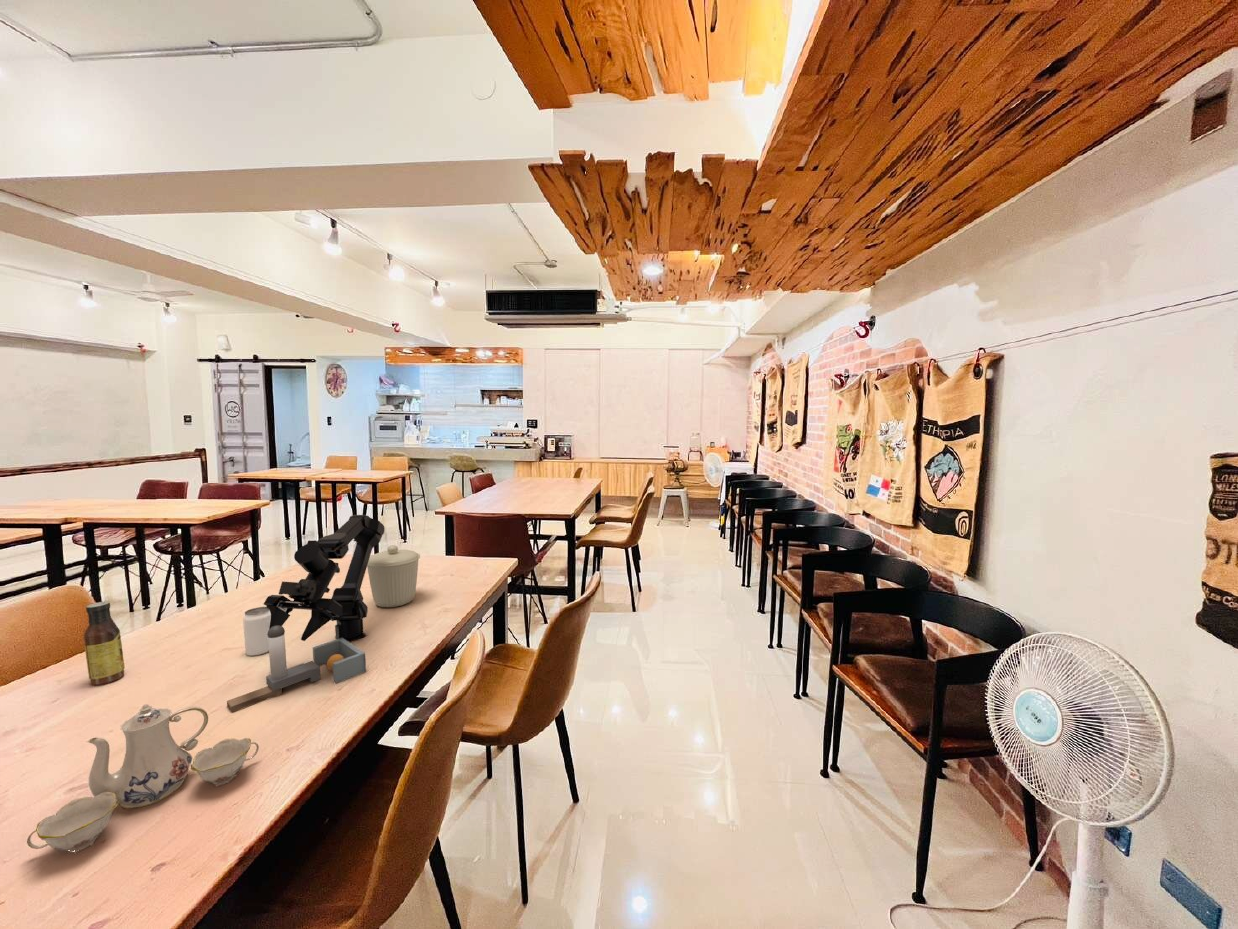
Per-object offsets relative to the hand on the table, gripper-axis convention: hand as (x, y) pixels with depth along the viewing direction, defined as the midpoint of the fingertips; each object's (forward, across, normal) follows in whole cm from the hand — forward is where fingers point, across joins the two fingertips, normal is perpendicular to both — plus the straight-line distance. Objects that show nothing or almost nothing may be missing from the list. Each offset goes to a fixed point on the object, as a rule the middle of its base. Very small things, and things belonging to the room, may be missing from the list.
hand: (286, 639), depth 118 cm
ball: (+1, +6, +13) cm, 14 cm away
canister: (-29, -7, +47) cm, 55 cm away
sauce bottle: (+12, -48, +5) cm, 49 cm away
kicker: (+8, +1, +8) cm, 12 cm away
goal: (+2, +7, +15) cm, 16 cm away
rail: (+13, -2, +3) cm, 14 cm away
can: (-1, -23, +19) cm, 29 cm away
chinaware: (+33, +7, -16) cm, 38 cm away
